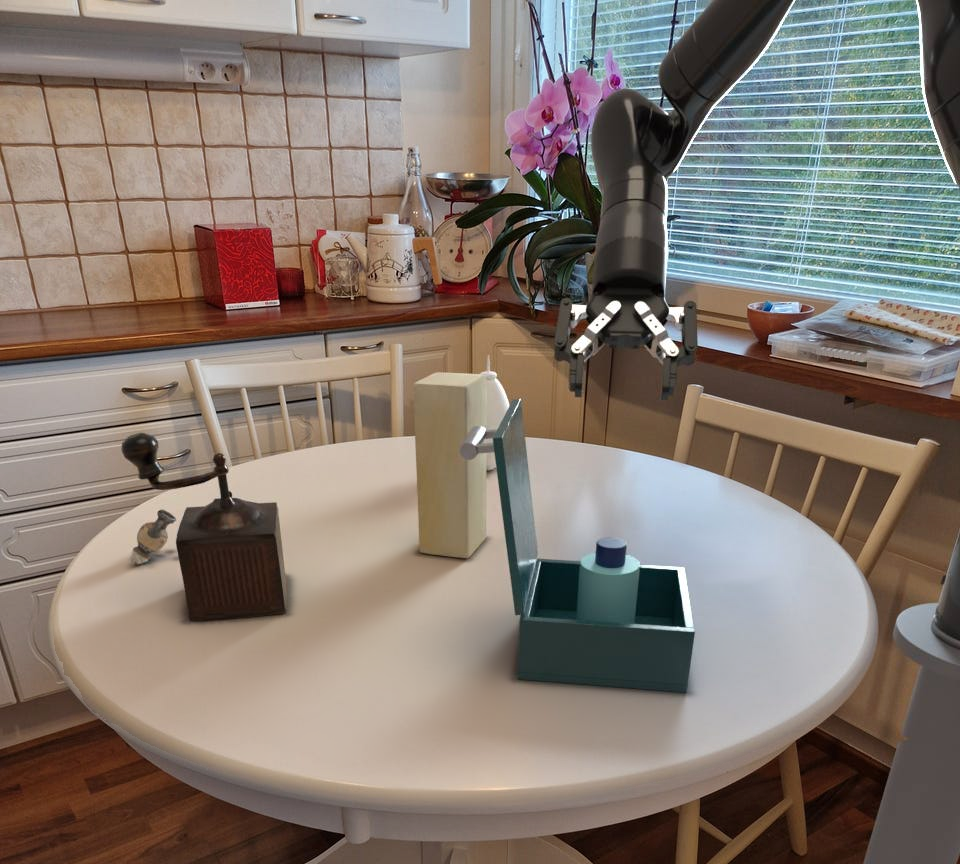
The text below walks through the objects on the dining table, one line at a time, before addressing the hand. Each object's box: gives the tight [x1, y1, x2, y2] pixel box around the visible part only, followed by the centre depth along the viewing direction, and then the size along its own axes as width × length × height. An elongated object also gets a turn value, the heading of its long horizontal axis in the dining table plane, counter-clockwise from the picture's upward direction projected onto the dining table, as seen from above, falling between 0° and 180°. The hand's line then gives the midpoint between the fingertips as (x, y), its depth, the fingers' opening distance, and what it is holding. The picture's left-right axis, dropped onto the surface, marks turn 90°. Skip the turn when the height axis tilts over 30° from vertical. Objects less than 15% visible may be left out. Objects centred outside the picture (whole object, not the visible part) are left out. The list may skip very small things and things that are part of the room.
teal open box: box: [517, 558, 696, 693], centre depth 84 cm, size 16×15×6 cm
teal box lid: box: [460, 398, 539, 616], centre depth 80 cm, size 16×15×5 cm
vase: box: [129, 509, 177, 565], centre depth 104 cm, size 5×5×6 cm
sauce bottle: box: [479, 354, 510, 471], centre depth 135 cm, size 8×8×18 cm
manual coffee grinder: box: [120, 432, 288, 622], centre depth 91 cm, size 16×11×18 cm
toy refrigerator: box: [412, 371, 487, 559], centre depth 104 cm, size 8×7×21 cm
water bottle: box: [576, 536, 641, 624], centre depth 81 cm, size 6×6×11 cm
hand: (621, 394), depth 84 cm, fingers open, 8 cm apart
